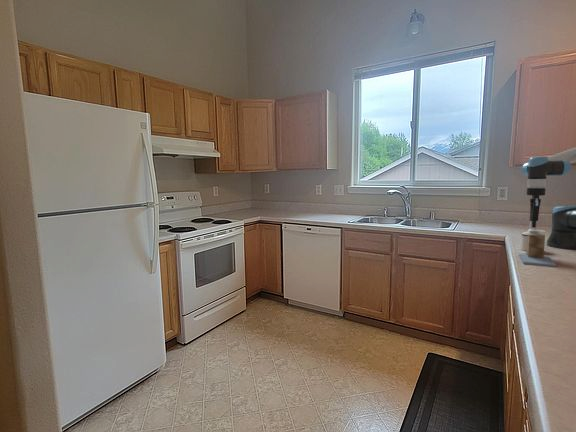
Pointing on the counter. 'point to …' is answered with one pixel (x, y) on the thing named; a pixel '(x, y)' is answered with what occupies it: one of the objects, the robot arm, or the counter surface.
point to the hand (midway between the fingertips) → (532, 233)
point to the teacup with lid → (524, 241)
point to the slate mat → (537, 260)
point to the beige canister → (535, 243)
